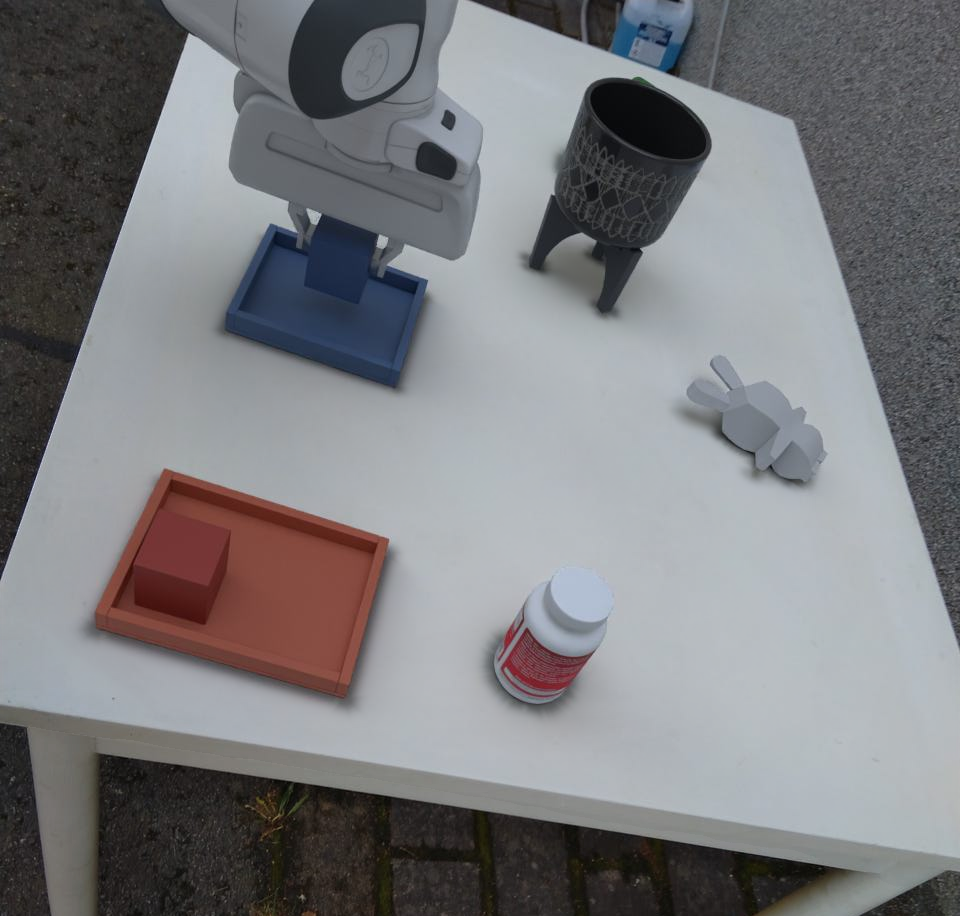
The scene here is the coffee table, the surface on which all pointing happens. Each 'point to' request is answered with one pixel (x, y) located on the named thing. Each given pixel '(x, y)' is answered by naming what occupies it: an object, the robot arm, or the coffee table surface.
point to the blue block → (339, 259)
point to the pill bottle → (554, 635)
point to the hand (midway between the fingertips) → (341, 259)
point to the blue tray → (325, 312)
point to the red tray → (261, 588)
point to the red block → (181, 566)
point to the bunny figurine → (762, 423)
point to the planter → (623, 176)
